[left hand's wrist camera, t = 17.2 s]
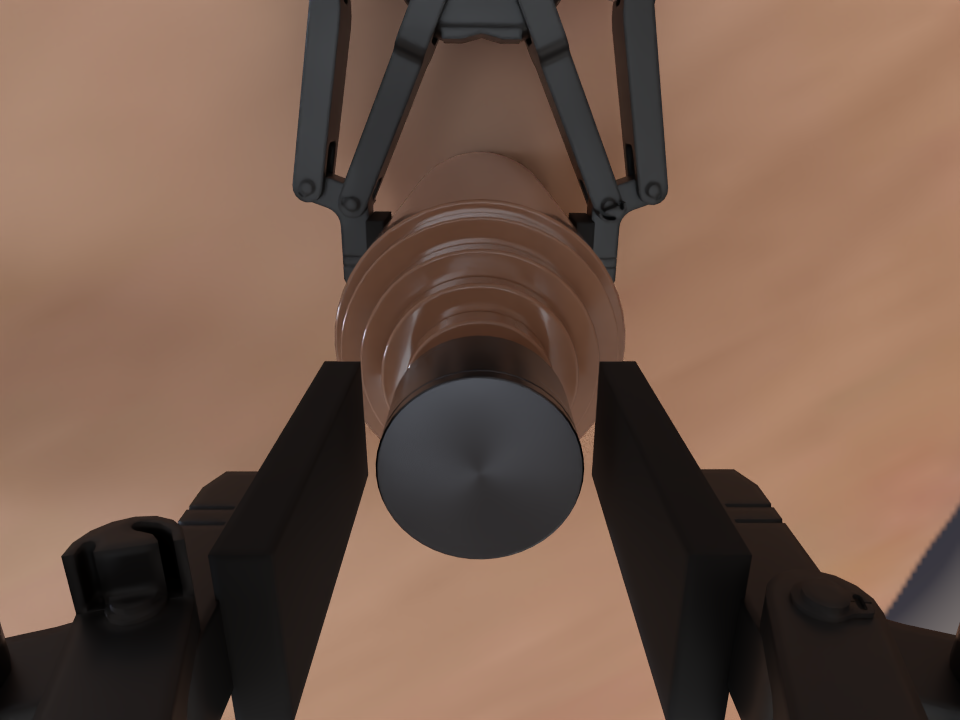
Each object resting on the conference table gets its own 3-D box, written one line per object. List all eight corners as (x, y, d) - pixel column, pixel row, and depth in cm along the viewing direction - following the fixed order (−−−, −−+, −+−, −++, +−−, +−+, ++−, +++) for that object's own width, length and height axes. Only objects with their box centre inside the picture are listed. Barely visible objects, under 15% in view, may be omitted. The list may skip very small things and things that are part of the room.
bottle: (540, 312, 38) (639, 649, 15) (397, 292, 38) (259, 605, 14) (568, 164, 35) (745, 285, 12) (413, 140, 35) (274, 216, 11)
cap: (580, 343, 14) (599, 386, 12) (556, 502, 15) (568, 567, 13) (395, 326, 14) (379, 366, 12) (386, 488, 15) (371, 551, 13)
